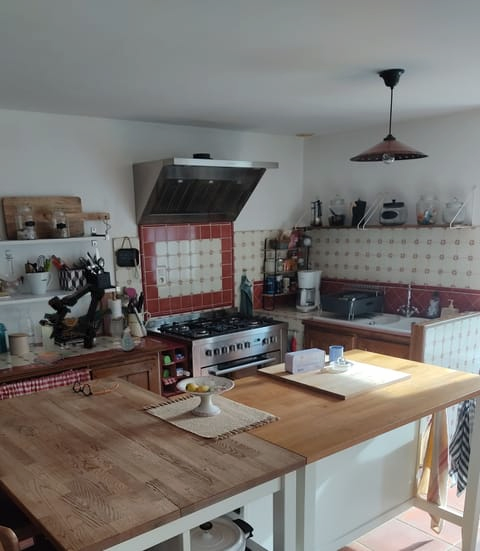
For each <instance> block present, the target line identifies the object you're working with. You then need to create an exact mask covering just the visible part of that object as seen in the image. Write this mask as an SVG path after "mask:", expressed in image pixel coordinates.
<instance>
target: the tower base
mask: <svg viewBox="0 0 480 551" xmlns="http://www.w3.org/2000/svg"><path fill="white" fill-rule="evenodd" d="M63 358H65V357H64V356H63V355H60V352H57V351H53V350H46V351H45V352H41V353H39V354H37V357H34V358H33V360H32V362H33V363H37V362H39V363H38V364H42V363H47V364H48V363H51V362H54V361H57V360H60V359H63ZM63 360H64V359H63ZM60 361H61V360H60ZM57 362H58V361H57ZM54 363H55V362H54ZM47 364H46V365H47ZM51 364H52V363H51Z"/></svg>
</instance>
